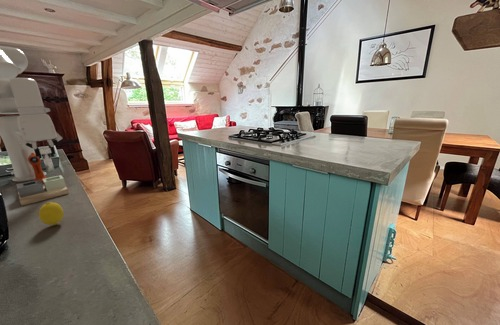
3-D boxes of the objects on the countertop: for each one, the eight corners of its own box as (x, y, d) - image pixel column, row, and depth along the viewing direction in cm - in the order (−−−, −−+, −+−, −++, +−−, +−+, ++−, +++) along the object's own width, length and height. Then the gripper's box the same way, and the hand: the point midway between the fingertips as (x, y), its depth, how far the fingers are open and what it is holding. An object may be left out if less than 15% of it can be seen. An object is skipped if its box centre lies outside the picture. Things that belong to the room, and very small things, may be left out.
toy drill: (35, 188, 93) (23, 155, 90) (35, 183, 106) (25, 153, 103) (50, 185, 96) (39, 152, 93) (48, 180, 110) (39, 151, 107)
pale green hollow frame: (45, 187, 93) (42, 179, 91) (63, 183, 97) (61, 175, 96) (47, 191, 89) (44, 182, 87) (66, 186, 93) (63, 178, 92)
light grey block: (44, 170, 92) (37, 147, 89) (54, 168, 94) (47, 146, 91) (46, 173, 87) (39, 149, 84) (57, 171, 89) (50, 148, 86)
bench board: (19, 195, 90) (17, 191, 89) (62, 185, 100) (61, 181, 99) (21, 205, 81) (19, 201, 80) (68, 193, 91) (67, 189, 90)
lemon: (69, 218, 71) (62, 197, 69) (62, 227, 66) (54, 204, 64) (48, 222, 69) (41, 200, 67) (39, 231, 64) (31, 208, 62)
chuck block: (19, 193, 87) (16, 184, 86) (42, 187, 92) (40, 179, 91) (20, 198, 83) (17, 188, 82) (44, 192, 88) (42, 183, 87)
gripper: (58, 110, 92) (69, 152, 97) (1, 113, 80) (17, 160, 85) (61, 110, 87) (73, 154, 92) (1, 113, 75) (18, 163, 80)
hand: (46, 156), depth 89 cm, fingers closed on light grey block, 3 cm apart
